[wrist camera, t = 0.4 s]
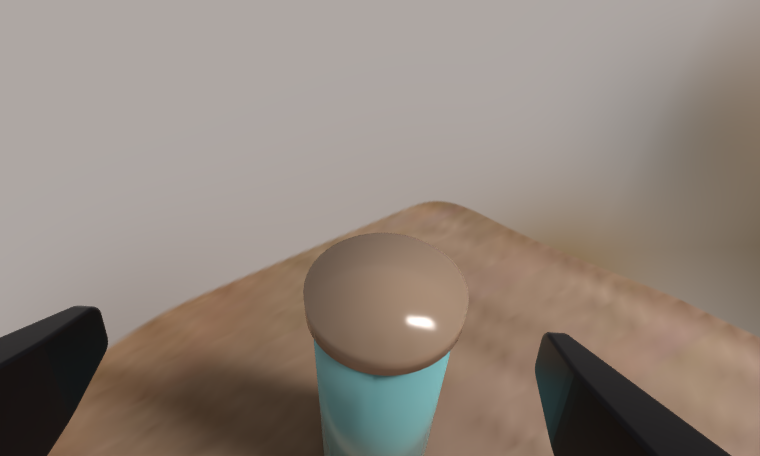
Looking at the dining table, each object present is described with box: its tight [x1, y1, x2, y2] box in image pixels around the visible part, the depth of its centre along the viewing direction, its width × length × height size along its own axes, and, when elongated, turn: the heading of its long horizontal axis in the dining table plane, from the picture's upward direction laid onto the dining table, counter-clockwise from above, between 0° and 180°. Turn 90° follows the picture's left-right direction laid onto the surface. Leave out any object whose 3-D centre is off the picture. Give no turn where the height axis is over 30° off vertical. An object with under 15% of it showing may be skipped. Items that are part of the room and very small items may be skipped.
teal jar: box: [303, 233, 469, 456], centre depth 19 cm, size 5×5×12 cm
